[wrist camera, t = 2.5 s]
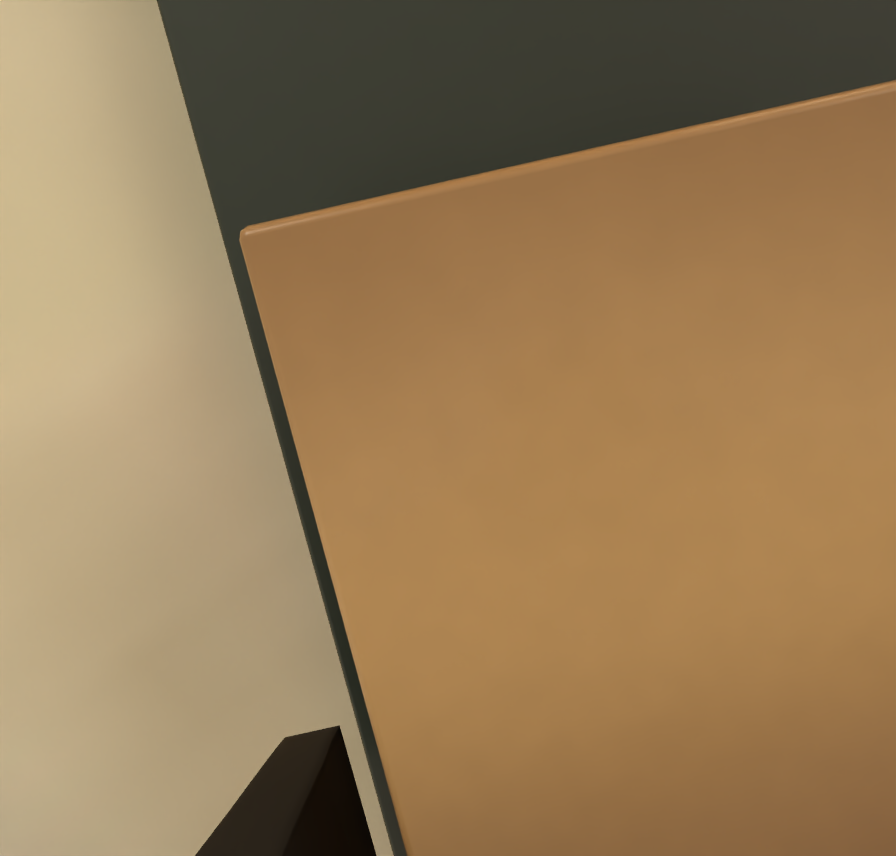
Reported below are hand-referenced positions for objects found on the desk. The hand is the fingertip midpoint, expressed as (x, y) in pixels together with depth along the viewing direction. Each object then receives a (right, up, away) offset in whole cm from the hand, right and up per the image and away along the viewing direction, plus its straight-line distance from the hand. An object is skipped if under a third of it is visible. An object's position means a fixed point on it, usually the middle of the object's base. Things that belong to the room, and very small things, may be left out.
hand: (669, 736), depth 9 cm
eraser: (0, 0, +1) cm, 1 cm away
